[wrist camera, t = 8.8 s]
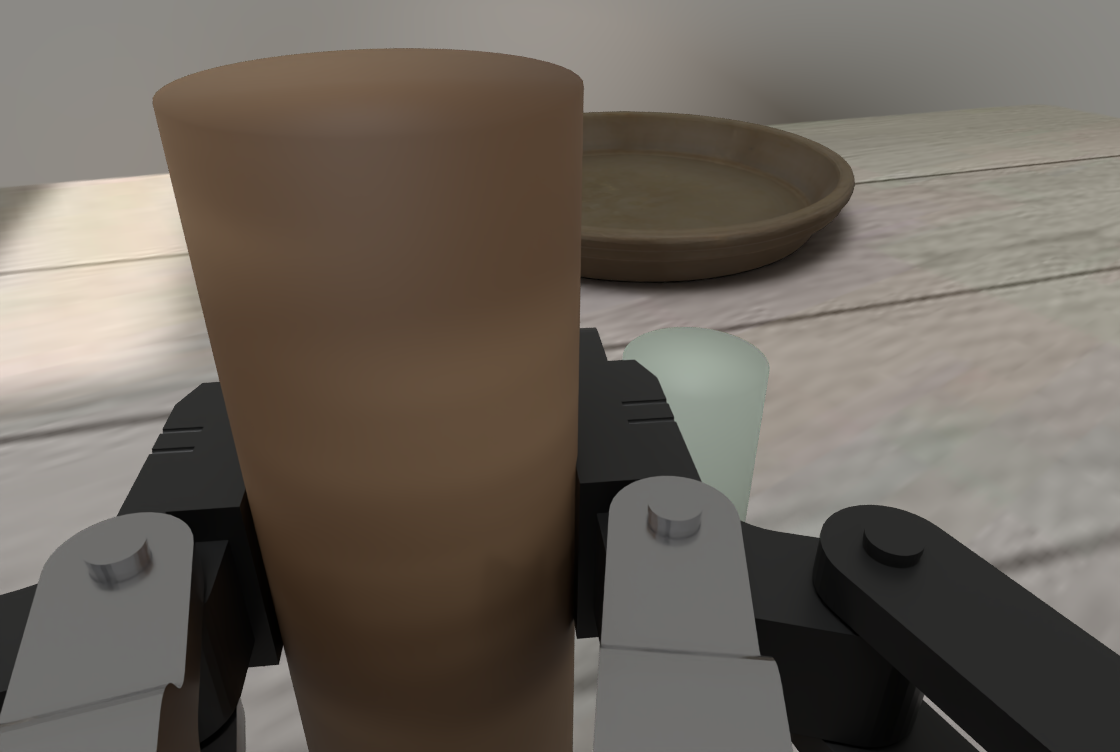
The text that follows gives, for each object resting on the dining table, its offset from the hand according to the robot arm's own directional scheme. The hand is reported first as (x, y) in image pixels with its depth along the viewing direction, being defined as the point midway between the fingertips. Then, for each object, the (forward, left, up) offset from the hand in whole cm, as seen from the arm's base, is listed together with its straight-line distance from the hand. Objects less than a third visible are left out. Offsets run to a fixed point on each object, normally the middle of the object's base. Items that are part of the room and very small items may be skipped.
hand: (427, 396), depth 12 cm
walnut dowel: (+2, -2, -7) cm, 8 cm away
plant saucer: (-33, +39, -16) cm, 54 cm away
